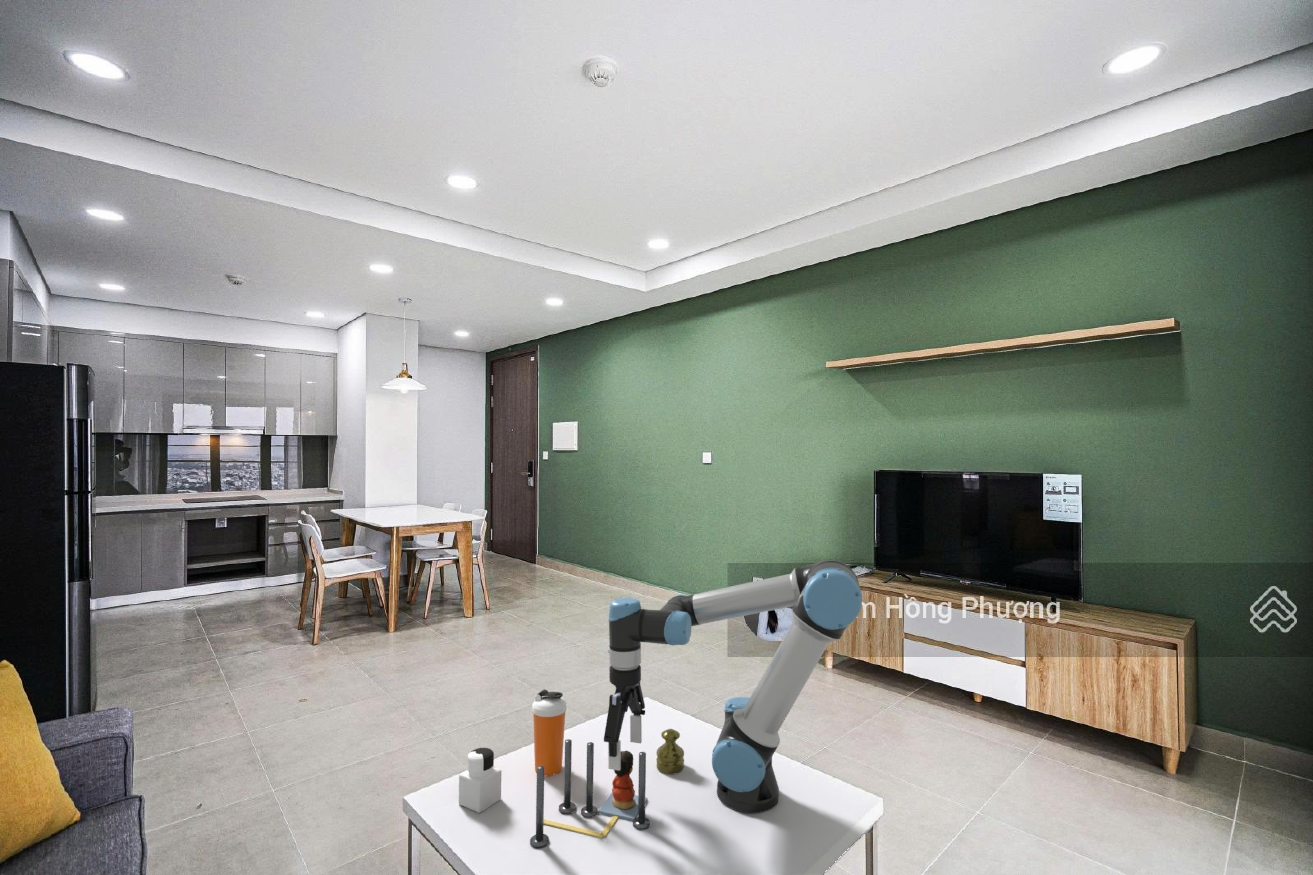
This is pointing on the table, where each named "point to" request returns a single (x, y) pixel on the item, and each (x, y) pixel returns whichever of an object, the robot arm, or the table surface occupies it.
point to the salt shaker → (670, 753)
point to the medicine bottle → (480, 781)
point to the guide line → (584, 831)
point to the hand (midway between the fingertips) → (625, 755)
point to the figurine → (624, 783)
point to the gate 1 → (564, 808)
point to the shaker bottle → (549, 731)
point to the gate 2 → (641, 820)
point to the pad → (621, 813)
